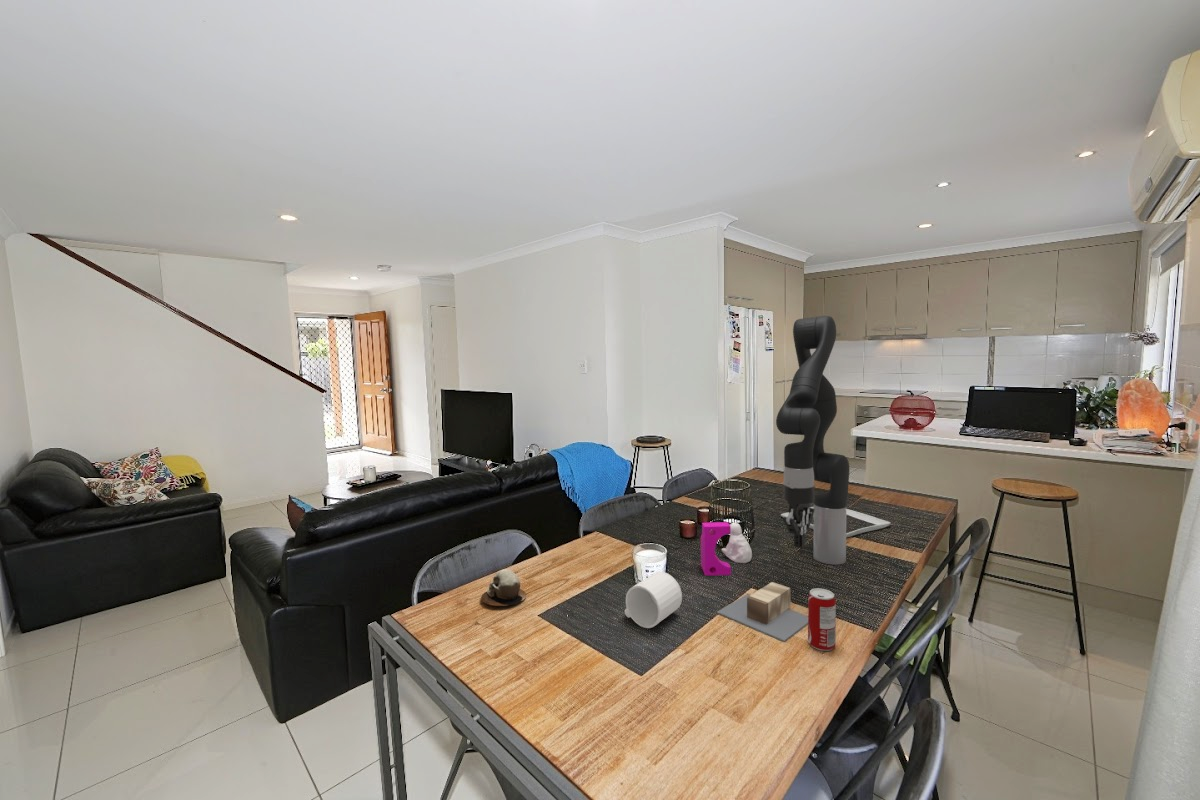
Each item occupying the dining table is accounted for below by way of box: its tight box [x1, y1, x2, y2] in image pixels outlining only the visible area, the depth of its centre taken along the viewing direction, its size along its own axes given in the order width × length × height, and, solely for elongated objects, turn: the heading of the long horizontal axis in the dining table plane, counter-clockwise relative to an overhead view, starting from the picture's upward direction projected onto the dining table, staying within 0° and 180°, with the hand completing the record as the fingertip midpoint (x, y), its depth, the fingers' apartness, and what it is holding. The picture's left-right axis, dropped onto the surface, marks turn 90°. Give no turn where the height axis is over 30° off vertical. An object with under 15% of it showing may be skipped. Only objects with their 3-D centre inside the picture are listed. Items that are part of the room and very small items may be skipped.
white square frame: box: [780, 506, 891, 538], centre depth 187 cm, size 27×27×4 cm
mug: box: [624, 571, 683, 629], centre depth 123 cm, size 13×10×10 cm
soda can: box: [807, 587, 837, 652], centre depth 109 cm, size 6×6×12 cm
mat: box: [716, 593, 808, 643], centre depth 122 cm, size 14×18×1 cm
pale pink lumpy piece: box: [721, 522, 753, 564], centre depth 156 cm, size 6×8×12 cm
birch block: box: [747, 581, 792, 625], centre depth 124 cm, size 5×5×12 cm
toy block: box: [700, 521, 732, 576], centre depth 148 cm, size 15×6×8 cm
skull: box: [480, 568, 527, 607], centre depth 136 cm, size 12×10×10 cm
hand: (799, 546), depth 133 cm, fingers closed
